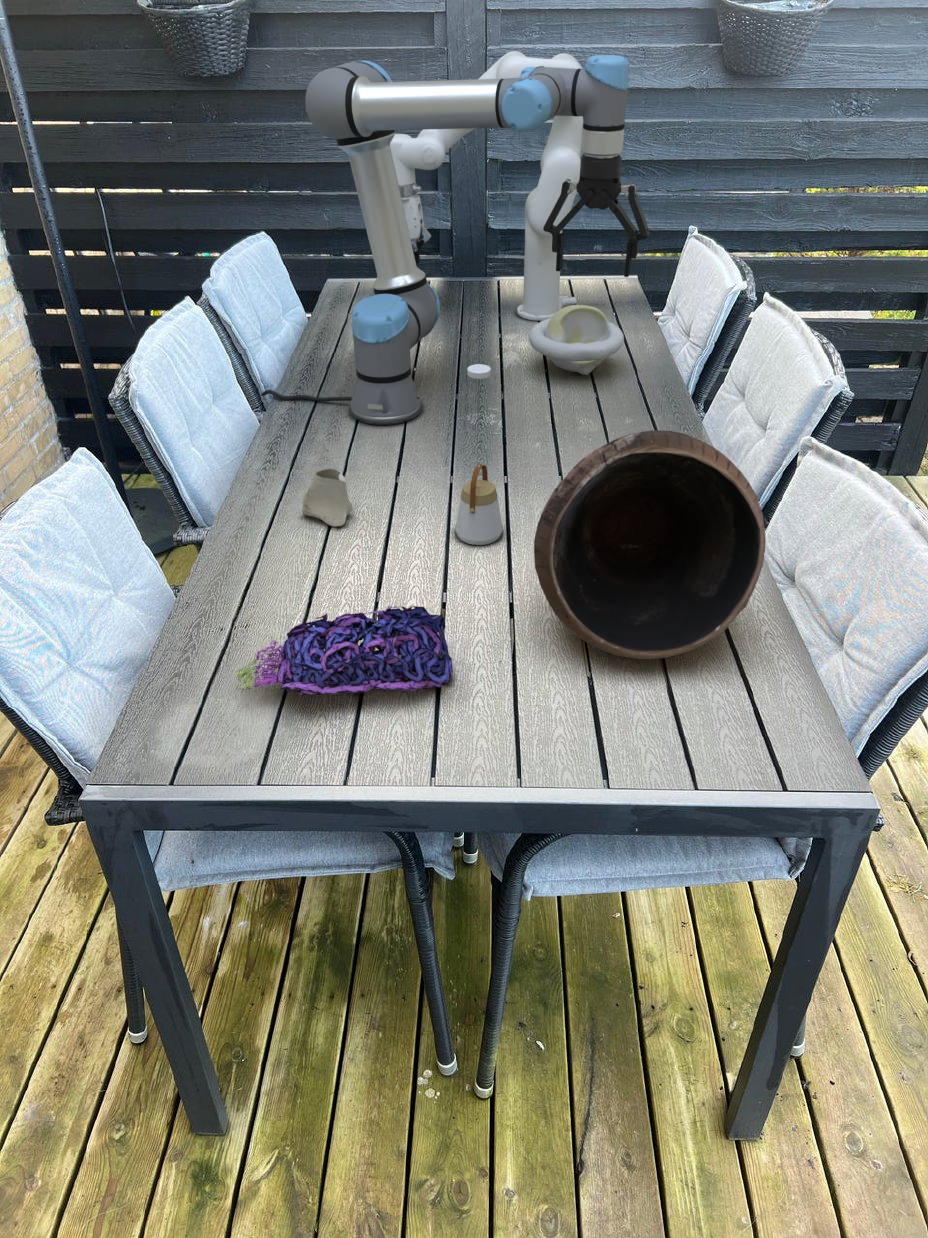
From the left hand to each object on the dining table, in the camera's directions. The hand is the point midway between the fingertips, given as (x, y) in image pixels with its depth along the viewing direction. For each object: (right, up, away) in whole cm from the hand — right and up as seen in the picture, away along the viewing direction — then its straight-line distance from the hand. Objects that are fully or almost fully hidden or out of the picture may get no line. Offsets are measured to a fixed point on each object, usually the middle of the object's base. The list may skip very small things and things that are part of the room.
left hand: (592, 272), depth 183 cm
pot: (+1, -67, -39) cm, 77 cm away
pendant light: (-23, -54, -21) cm, 62 cm away
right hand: (-41, +24, +59) cm, 75 cm away
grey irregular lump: (-50, -50, -17) cm, 73 cm away
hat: (+1, -10, +36) cm, 37 cm away
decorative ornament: (-42, -78, -52) cm, 103 cm away
